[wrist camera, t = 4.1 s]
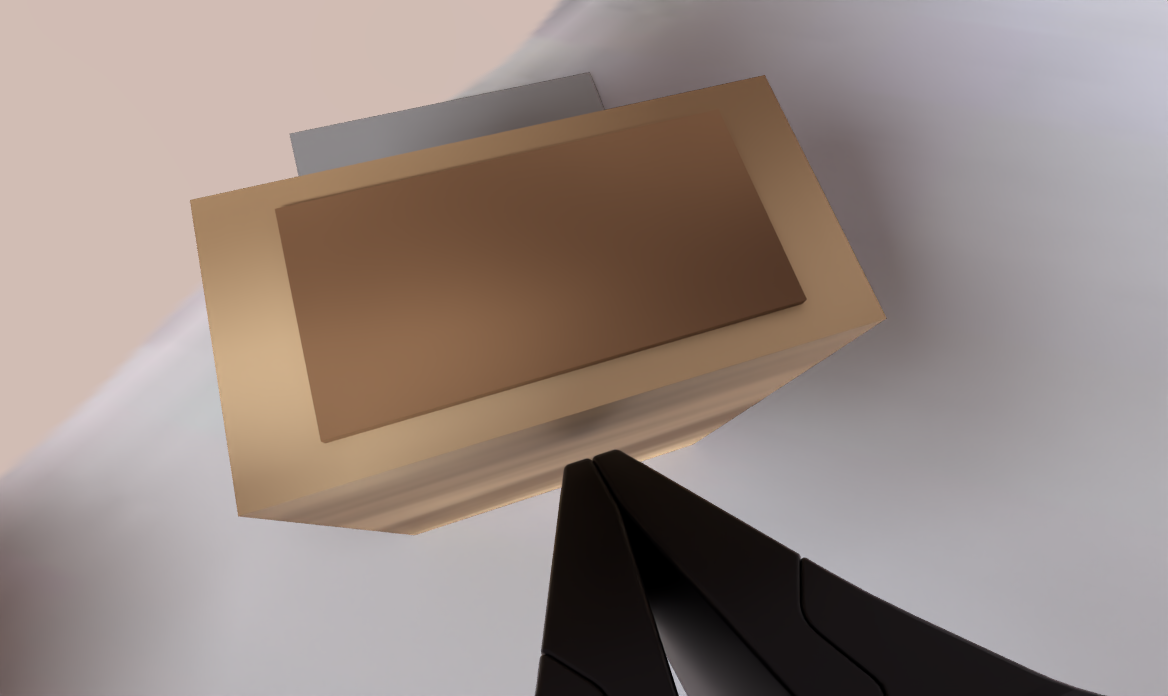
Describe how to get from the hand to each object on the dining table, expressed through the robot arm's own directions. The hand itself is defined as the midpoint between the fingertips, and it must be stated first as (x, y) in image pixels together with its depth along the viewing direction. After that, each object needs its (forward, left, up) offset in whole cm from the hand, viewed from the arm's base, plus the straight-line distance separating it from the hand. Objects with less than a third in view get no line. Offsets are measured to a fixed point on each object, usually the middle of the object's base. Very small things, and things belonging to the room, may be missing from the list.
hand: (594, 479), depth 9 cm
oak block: (+2, +1, -8) cm, 8 cm away
